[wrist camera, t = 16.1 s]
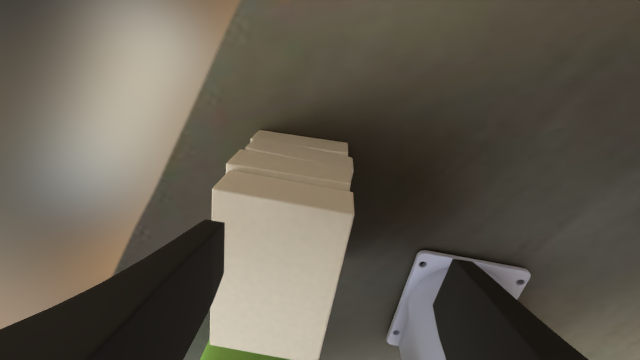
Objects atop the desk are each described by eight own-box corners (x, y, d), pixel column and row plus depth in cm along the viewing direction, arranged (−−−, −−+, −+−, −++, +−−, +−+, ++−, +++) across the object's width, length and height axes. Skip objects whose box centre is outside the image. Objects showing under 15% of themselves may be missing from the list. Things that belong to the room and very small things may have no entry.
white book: (320, 331, 17) (317, 365, 15) (223, 313, 17) (208, 345, 15) (353, 191, 13) (355, 214, 11) (229, 168, 13) (211, 188, 11)
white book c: (323, 299, 19) (321, 326, 17) (234, 284, 19) (223, 310, 17) (350, 167, 15) (350, 183, 13) (240, 148, 15) (225, 163, 13)
